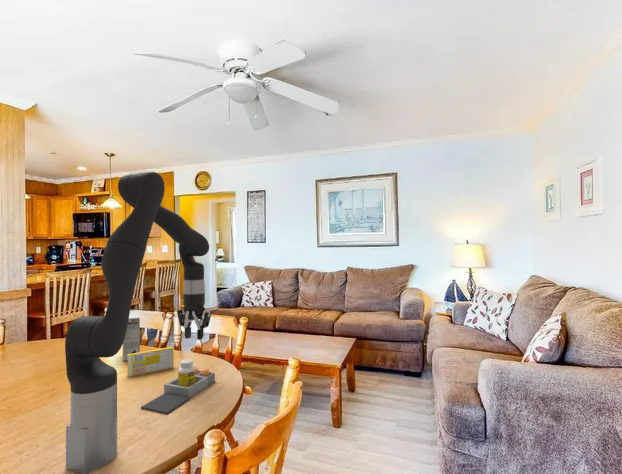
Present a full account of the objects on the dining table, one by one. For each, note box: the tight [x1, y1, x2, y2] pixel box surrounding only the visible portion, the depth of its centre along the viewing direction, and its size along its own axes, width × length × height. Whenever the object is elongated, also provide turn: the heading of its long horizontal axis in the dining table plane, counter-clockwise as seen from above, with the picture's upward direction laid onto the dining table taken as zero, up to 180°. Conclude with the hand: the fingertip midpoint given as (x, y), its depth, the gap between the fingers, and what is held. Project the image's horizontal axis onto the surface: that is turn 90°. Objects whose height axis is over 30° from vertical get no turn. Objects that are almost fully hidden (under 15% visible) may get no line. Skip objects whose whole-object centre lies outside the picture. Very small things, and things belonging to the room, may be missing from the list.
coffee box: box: [122, 317, 141, 362], centre depth 149 cm, size 9×6×16 cm
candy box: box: [127, 346, 174, 378], centre depth 133 cm, size 16×2×8 cm, turn 123°
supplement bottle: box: [177, 358, 195, 387], centre depth 117 cm, size 5×5×10 cm
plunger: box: [201, 368, 210, 376], centre depth 122 cm, size 3×3×3 cm
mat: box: [140, 392, 191, 415], centre depth 106 cm, size 10×10×1 cm
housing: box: [163, 369, 216, 398], centre depth 118 cm, size 14×10×3 cm
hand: (194, 338), depth 124 cm, fingers open, 4 cm apart
